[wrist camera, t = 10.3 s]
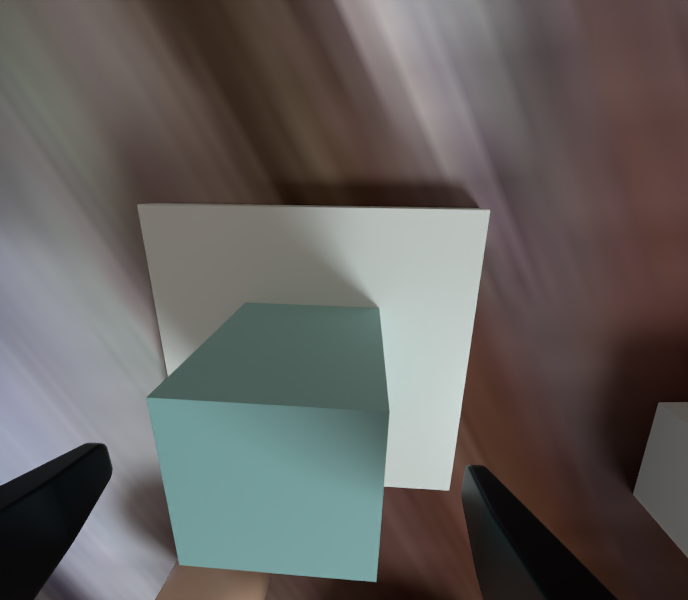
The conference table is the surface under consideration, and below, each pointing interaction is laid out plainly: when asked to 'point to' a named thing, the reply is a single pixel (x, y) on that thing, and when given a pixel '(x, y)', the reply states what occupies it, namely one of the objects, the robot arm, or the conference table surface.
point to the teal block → (278, 443)
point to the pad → (336, 296)
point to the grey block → (667, 472)
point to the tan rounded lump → (213, 584)
